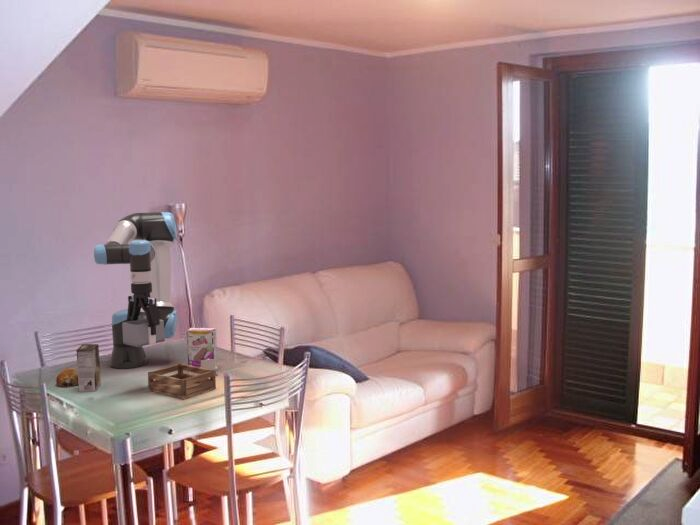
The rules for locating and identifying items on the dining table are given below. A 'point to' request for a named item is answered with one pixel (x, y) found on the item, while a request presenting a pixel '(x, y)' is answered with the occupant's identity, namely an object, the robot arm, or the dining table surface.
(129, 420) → the dining table surface
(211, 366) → the architectural model
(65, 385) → the bread roll
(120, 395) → the dining table surface
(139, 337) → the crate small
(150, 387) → the crate big
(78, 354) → the coffee box
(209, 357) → the candy bar box
